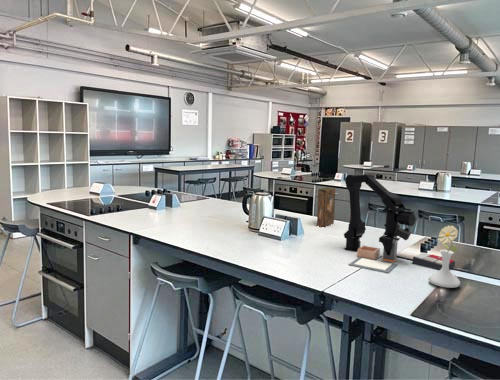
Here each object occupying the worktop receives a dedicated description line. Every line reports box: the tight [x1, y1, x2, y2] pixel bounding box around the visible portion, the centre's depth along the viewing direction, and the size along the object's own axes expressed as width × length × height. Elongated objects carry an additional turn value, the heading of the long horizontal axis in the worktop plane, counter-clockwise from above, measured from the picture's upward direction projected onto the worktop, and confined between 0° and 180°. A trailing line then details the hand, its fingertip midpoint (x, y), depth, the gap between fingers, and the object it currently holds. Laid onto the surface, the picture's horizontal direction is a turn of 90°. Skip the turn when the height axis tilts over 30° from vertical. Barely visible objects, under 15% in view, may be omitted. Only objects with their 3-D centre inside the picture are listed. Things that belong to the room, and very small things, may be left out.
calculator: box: [412, 252, 456, 271], centre depth 177 cm, size 11×4×15 cm
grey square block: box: [382, 239, 399, 263], centre depth 183 cm, size 5×5×10 cm
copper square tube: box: [356, 245, 381, 260], centre depth 188 cm, size 8×8×4 cm
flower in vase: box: [428, 225, 461, 289], centre depth 150 cm, size 13×11×25 cm
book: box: [316, 187, 336, 228], centre depth 258 cm, size 16×6×25 cm, turn 144°
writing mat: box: [348, 257, 398, 274], centre depth 175 cm, size 18×14×1 cm
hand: (389, 253), depth 183 cm, fingers closed on grey square block, 5 cm apart
